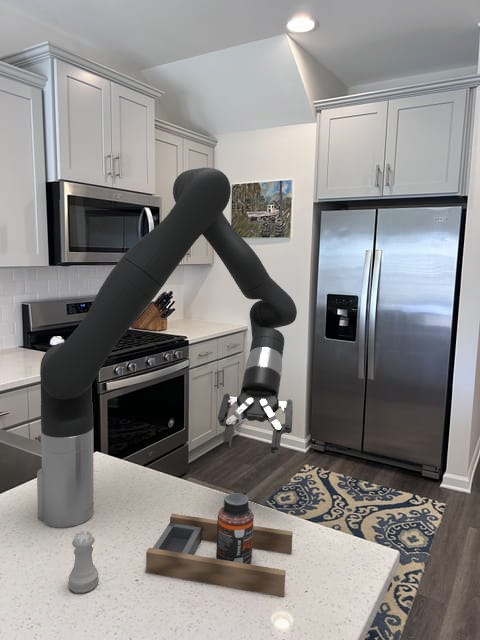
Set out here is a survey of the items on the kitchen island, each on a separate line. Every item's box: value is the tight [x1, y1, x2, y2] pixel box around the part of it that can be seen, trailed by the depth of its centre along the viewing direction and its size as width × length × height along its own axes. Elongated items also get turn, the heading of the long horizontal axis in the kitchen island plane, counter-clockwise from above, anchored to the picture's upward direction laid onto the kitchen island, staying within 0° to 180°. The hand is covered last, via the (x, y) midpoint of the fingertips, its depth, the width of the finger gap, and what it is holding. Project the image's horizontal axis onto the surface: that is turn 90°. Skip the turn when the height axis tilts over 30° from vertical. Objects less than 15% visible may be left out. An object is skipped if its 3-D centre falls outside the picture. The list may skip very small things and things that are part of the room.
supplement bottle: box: [215, 492, 255, 565], centre depth 78 cm, size 6×6×11 cm
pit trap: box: [152, 522, 202, 555], centre depth 81 cm, size 6×9×2 cm, turn 168°
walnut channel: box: [145, 513, 294, 598], centre depth 79 cm, size 22×12×4 cm, turn 78°
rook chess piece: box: [67, 530, 100, 594], centre depth 72 cm, size 4×4×8 cm
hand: (250, 448), depth 88 cm, fingers open, 8 cm apart
